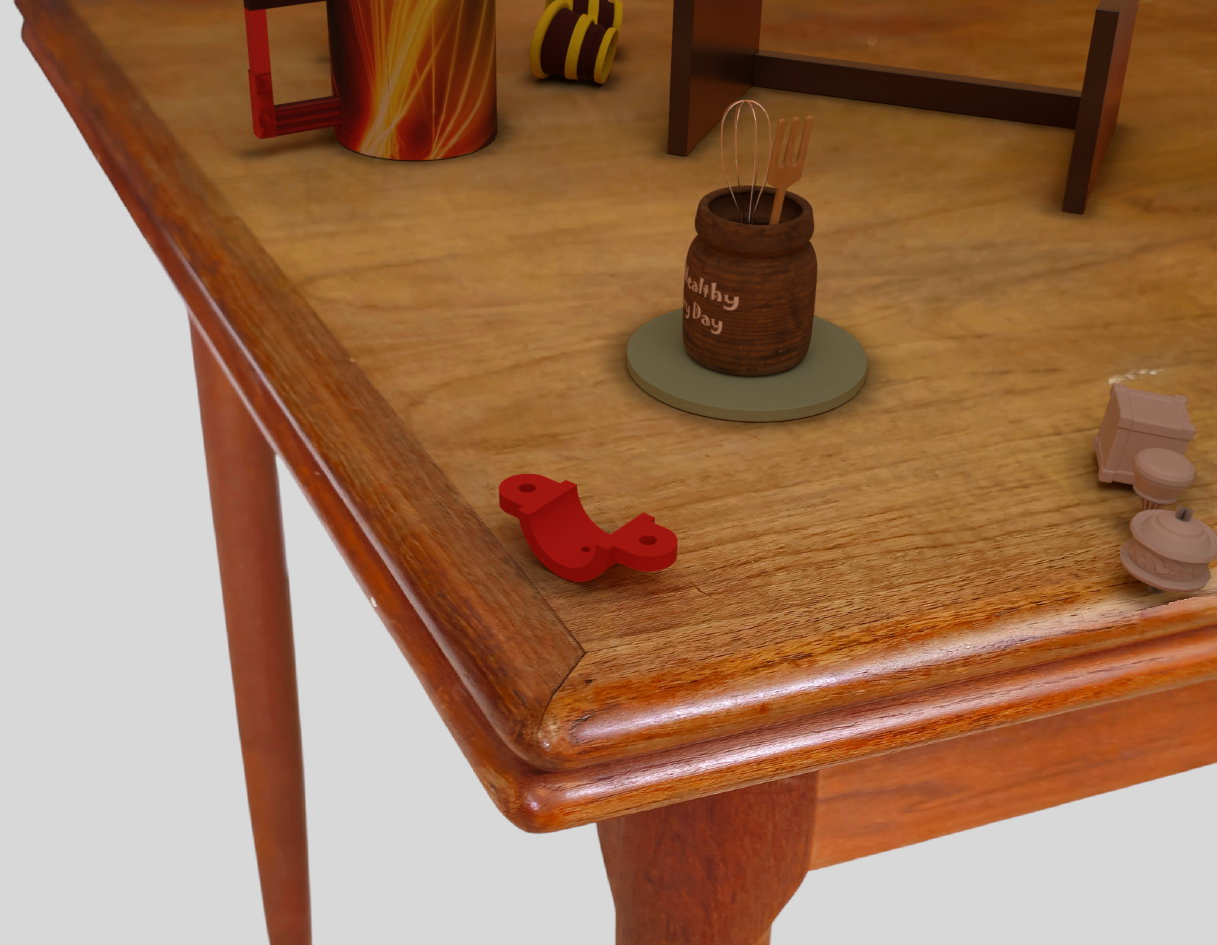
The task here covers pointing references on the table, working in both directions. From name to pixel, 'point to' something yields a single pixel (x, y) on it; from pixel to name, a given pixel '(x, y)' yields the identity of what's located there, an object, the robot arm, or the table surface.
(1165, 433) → the toy set
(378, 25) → the mug
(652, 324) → the rubber mat
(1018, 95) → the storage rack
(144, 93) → the table surface
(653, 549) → the pipe clamp
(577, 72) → the opera glasses
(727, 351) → the utensil holder
